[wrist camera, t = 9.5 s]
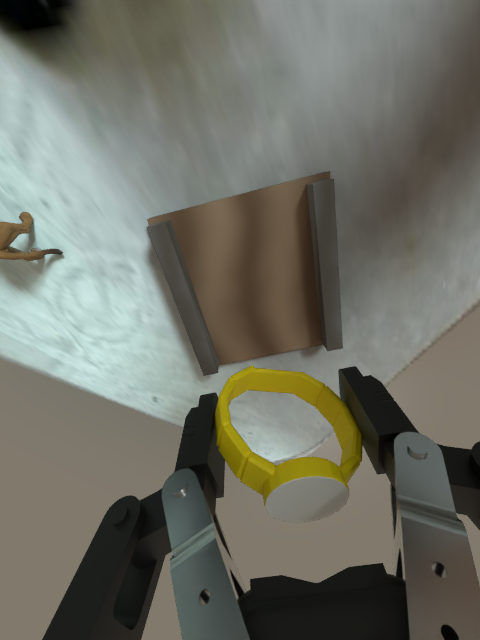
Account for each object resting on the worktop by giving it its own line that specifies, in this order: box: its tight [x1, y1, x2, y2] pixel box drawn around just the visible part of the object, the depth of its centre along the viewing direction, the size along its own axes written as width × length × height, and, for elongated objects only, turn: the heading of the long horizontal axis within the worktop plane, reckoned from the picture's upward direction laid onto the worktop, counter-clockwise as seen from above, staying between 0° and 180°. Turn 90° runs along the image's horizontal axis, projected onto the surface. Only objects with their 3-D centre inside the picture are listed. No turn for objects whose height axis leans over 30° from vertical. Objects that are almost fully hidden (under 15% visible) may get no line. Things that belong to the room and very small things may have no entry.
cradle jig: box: [147, 171, 343, 376], centre depth 25 cm, size 16×17×3 cm
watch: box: [214, 366, 363, 523], centre depth 11 cm, size 6×3×6 cm, turn 79°
